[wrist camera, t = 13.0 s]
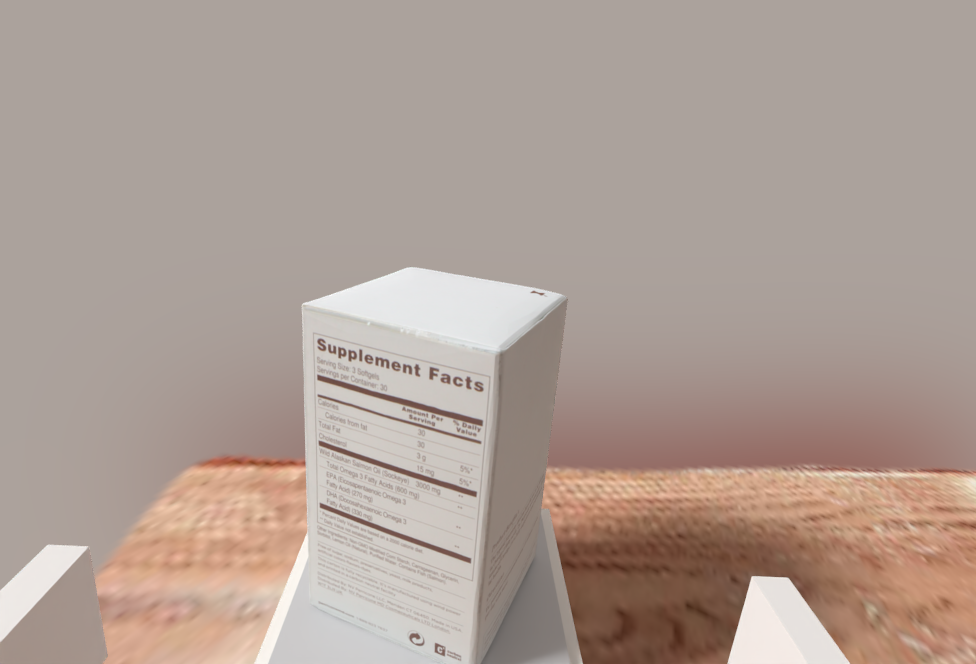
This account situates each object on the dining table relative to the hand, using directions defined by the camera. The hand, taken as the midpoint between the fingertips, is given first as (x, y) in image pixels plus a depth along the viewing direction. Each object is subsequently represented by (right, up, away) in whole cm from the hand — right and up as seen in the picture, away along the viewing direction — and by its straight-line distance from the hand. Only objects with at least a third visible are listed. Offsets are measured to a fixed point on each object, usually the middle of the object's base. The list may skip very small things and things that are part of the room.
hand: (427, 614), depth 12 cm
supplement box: (-1, -5, +13) cm, 14 cm away
